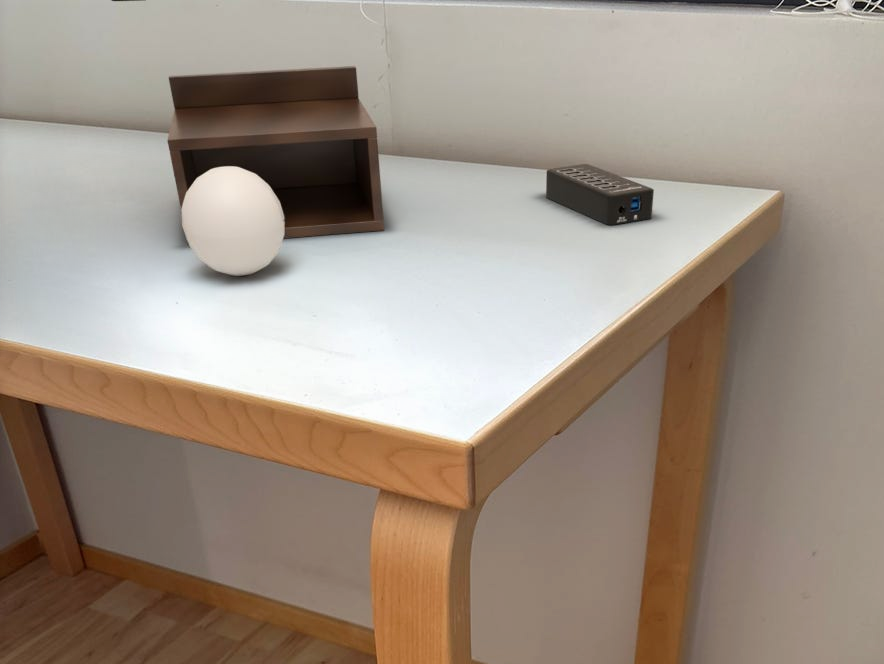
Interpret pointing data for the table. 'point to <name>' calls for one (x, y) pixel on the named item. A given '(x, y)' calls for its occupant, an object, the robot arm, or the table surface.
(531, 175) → the table surface
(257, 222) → the cream oval egg shape
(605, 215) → the multiport hub
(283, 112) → the shelf
